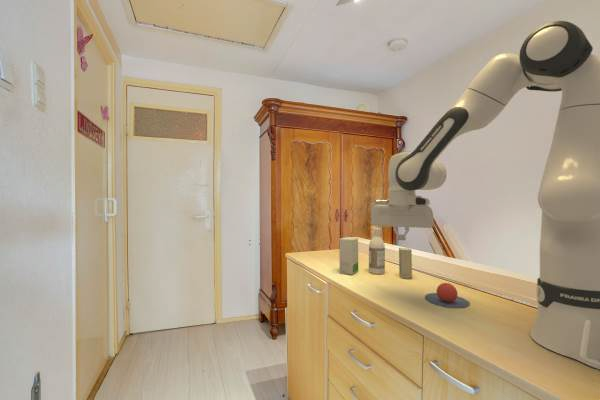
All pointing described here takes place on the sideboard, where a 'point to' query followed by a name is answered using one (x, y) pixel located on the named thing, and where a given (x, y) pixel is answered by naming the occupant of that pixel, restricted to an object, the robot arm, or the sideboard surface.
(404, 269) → the skincare box
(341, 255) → the skincare box
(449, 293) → the ball
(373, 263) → the bath foam
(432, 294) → the dark gray round plate
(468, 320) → the sideboard surface
